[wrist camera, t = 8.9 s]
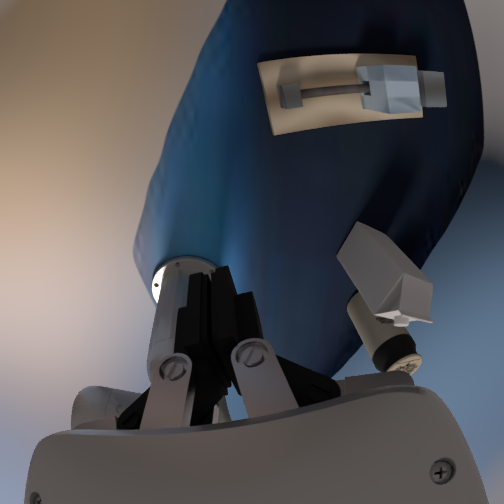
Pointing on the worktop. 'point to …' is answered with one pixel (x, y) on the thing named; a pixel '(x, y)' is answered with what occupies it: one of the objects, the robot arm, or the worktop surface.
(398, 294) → the milk carton
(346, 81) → the slider mechanism
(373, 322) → the travel mug
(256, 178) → the worktop surface
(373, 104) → the sleeve
